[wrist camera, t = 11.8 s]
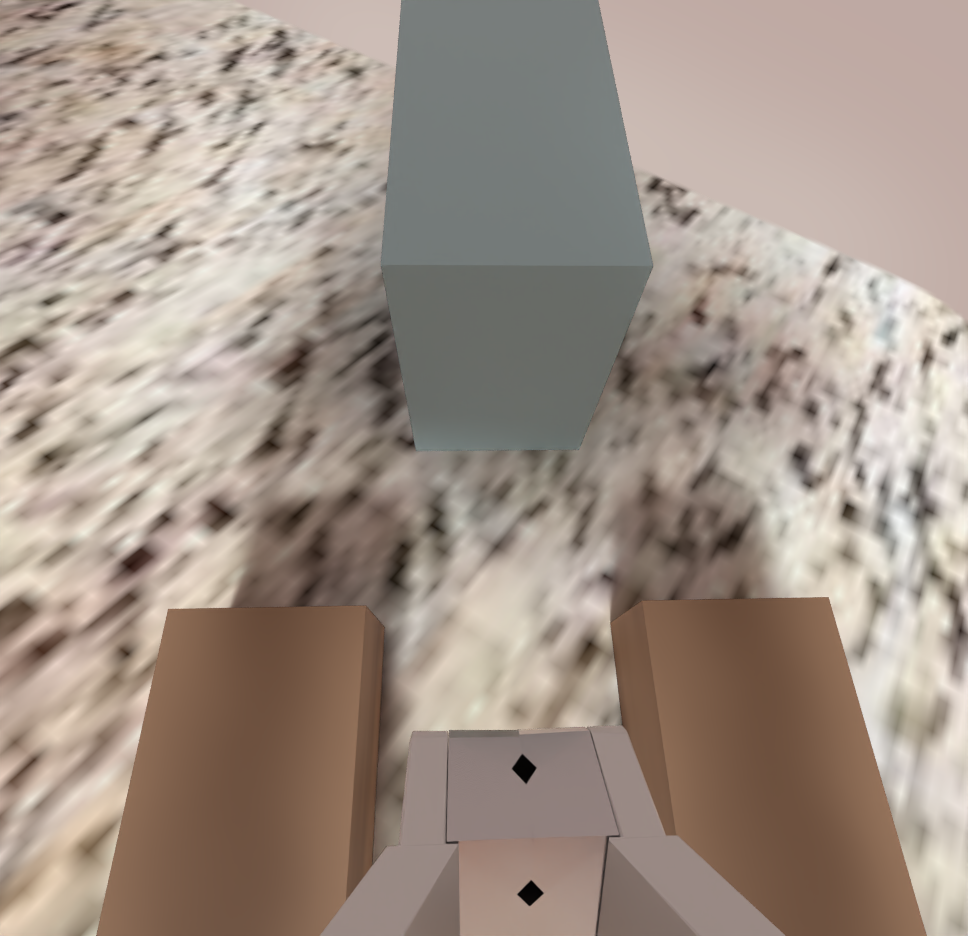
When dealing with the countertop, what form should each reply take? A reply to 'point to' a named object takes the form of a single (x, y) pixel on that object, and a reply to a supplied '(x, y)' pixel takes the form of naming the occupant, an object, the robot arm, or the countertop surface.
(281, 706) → the parallel wooden rails
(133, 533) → the countertop surface
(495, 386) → the teal block
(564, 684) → the countertop surface
